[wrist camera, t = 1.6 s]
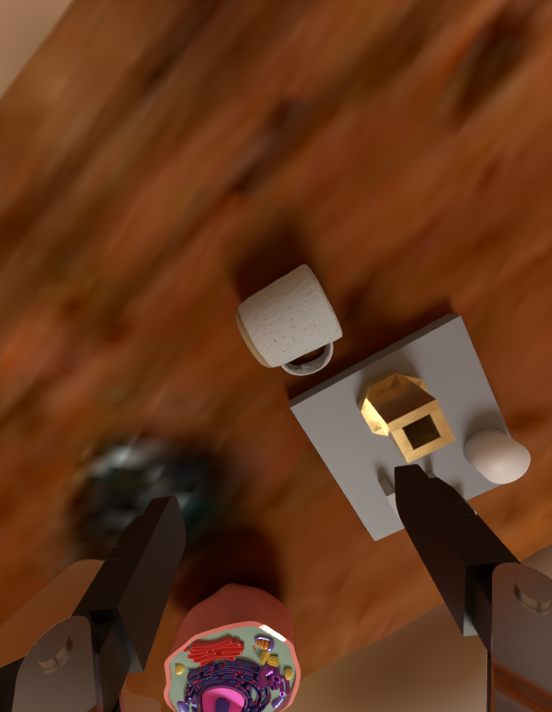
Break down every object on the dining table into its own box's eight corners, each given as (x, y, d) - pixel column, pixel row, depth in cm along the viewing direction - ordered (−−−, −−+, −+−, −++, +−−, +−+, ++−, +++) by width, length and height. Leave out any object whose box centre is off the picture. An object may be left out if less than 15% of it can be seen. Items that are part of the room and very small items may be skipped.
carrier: (448, 313, 30) (486, 320, 24) (511, 463, 35) (554, 495, 29) (289, 400, 32) (292, 423, 27) (369, 527, 37) (385, 568, 32)
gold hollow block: (407, 359, 29) (444, 380, 23) (432, 411, 31) (473, 444, 24) (348, 390, 30) (368, 419, 24) (375, 439, 31) (401, 478, 25)
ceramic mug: (235, 304, 29) (223, 313, 22) (302, 264, 28) (312, 259, 21) (284, 383, 32) (288, 415, 25) (347, 349, 31) (370, 372, 24)
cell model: (322, 579, 40) (340, 692, 29) (259, 661, 44) (254, 784, 34) (216, 536, 38) (193, 641, 27) (162, 627, 42) (122, 747, 31)
